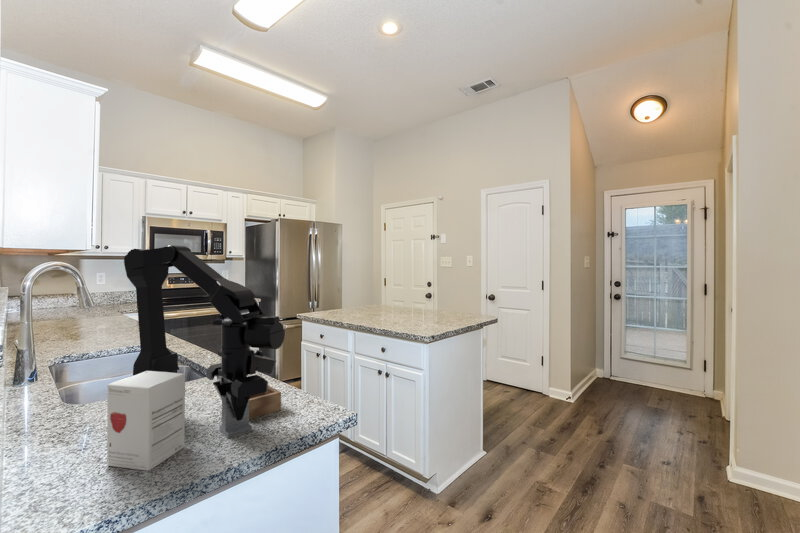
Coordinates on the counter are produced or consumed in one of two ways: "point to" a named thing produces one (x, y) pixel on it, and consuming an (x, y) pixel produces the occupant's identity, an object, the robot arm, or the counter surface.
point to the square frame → (264, 403)
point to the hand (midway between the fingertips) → (235, 417)
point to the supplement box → (145, 419)
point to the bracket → (233, 420)
